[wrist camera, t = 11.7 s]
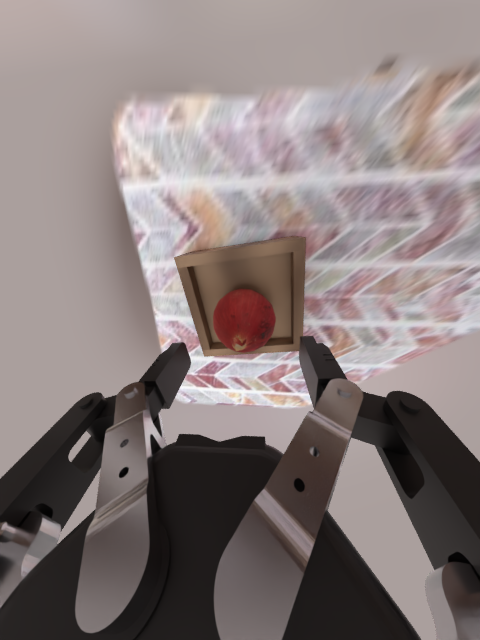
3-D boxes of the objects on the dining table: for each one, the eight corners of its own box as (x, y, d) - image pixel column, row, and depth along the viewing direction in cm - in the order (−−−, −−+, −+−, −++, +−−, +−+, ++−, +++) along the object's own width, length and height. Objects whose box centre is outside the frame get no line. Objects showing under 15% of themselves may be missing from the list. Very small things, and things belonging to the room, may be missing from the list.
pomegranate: (275, 282, 18) (289, 317, 11) (268, 328, 20) (274, 380, 13) (221, 277, 18) (198, 308, 11) (220, 324, 21) (202, 372, 14)
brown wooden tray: (293, 235, 19) (305, 237, 14) (293, 327, 25) (302, 350, 20) (193, 251, 21) (174, 257, 16) (213, 333, 26) (204, 356, 21)
